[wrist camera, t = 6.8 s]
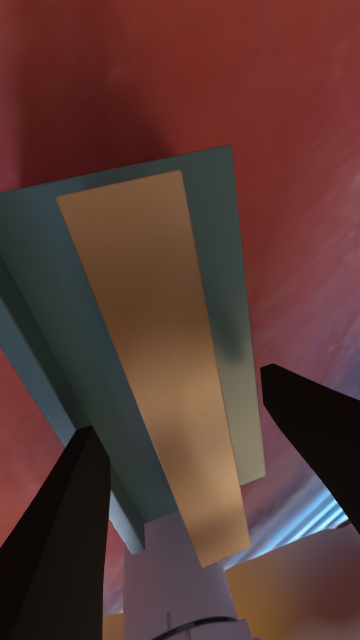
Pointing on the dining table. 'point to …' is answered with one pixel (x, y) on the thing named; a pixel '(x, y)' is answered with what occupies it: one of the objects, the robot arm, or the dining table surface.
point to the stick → (164, 344)
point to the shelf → (95, 342)
